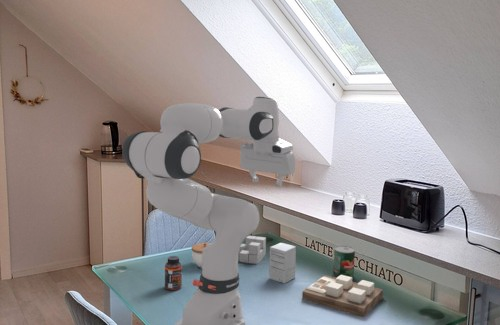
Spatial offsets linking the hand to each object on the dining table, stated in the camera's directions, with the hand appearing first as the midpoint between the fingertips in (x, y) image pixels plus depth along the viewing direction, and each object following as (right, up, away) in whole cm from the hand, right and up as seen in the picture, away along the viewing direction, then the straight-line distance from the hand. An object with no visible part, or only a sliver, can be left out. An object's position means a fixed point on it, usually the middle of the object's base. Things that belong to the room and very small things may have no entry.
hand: (267, 184), depth 168 cm
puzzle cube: (-7, -33, +40) cm, 53 cm away
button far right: (+34, -37, +1) cm, 50 cm away
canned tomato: (+30, -37, +22) cm, 52 cm away
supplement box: (+6, -37, +18) cm, 42 cm away
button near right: (+29, -38, -6) cm, 49 cm away
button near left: (+23, -37, -1) cm, 44 cm away
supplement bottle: (-33, -38, +8) cm, 51 cm away
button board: (+26, -40, +1) cm, 48 cm away
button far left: (+27, -36, +5) cm, 46 cm away
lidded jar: (-24, -34, +30) cm, 52 cm away
